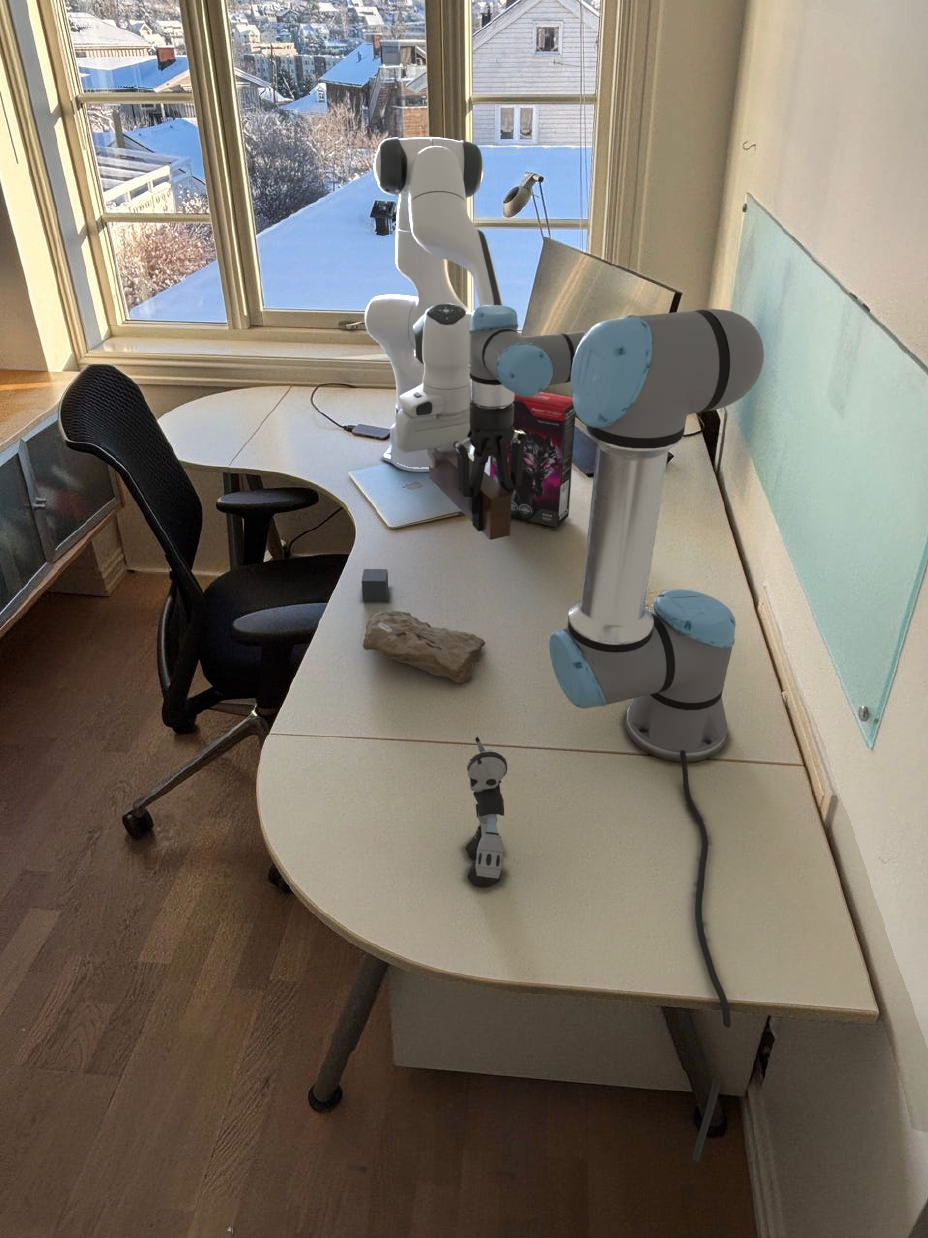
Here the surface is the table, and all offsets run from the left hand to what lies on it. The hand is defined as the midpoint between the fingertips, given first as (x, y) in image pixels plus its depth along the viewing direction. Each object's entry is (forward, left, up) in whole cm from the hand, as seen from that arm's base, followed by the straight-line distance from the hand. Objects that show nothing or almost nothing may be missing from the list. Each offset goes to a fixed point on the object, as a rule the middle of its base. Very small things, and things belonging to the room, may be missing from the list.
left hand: (446, 464), depth 180 cm
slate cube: (+19, -12, -19) cm, 29 cm away
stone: (+39, -2, -19) cm, 43 cm away
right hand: (+17, +9, -4) cm, 20 cm away
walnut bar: (+9, +4, -4) cm, 11 cm away
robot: (+83, +11, -19) cm, 86 cm away
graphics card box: (-15, +17, -19) cm, 29 cm away
